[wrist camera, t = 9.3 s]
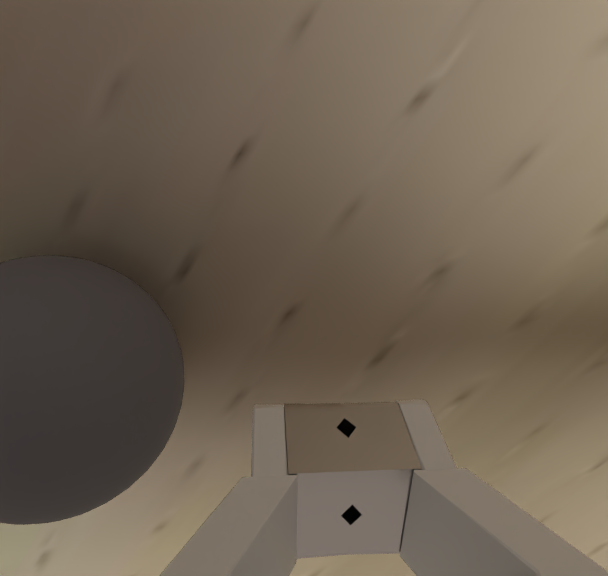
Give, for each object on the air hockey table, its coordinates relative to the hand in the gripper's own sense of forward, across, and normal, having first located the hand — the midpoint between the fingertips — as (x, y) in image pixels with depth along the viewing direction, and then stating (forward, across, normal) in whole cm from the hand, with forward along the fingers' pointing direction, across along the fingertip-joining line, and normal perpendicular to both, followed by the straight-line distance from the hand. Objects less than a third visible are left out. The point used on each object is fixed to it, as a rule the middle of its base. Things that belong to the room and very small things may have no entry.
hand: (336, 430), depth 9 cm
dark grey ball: (+2, +5, 0) cm, 6 cm away
